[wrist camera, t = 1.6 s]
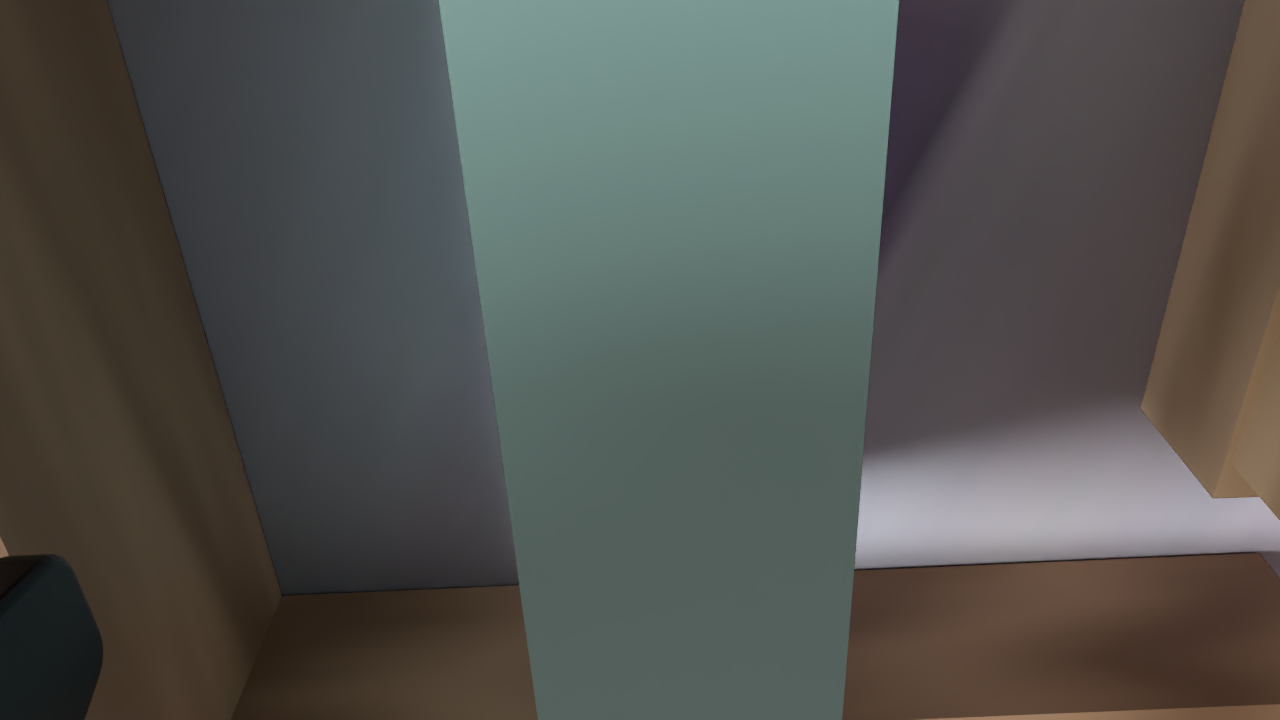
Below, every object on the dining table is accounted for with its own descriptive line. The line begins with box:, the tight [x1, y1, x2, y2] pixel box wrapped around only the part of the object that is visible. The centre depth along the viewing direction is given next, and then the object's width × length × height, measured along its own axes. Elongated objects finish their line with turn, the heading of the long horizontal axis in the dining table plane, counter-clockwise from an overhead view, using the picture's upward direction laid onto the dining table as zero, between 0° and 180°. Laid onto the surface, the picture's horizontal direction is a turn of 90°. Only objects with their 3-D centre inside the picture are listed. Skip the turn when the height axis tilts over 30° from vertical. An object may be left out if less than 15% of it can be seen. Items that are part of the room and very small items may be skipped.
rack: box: [0, 0, 1280, 720], centre depth 11 cm, size 17×15×5 cm
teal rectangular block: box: [439, 0, 899, 720], centre depth 10 cm, size 2×9×8 cm, turn 3°
